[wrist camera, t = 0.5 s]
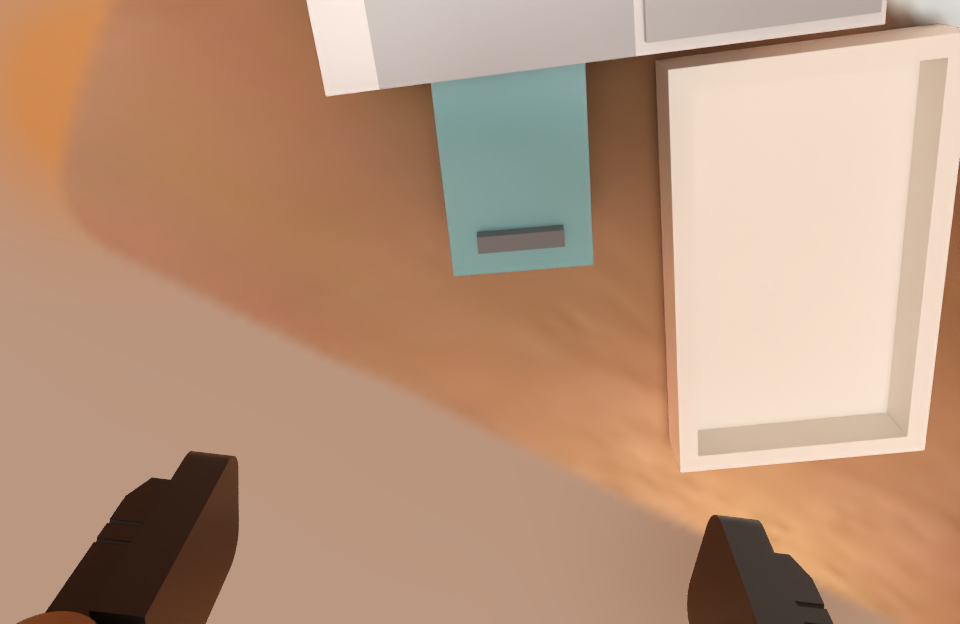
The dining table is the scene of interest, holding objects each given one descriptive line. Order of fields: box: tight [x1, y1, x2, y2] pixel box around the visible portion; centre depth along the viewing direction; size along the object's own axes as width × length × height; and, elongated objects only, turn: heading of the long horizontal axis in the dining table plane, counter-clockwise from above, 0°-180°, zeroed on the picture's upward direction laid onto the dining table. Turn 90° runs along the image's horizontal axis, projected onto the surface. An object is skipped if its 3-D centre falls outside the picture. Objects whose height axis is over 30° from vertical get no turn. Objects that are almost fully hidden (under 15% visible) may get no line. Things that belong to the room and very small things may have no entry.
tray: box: [655, 24, 960, 473], centre depth 33 cm, size 11×18×3 cm, turn 7°
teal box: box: [431, 63, 593, 276], centre depth 29 cm, size 5×13×7 cm, turn 6°
